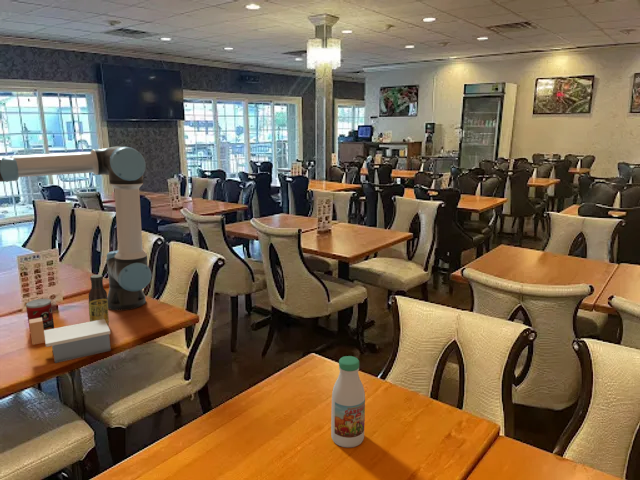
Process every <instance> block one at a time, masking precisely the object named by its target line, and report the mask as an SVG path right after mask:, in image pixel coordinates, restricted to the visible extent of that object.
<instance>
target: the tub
mask: <svg viewBox="0 0 640 480" xmlns="http://www.w3.org/2000/svg"><path fill="white" fill-rule="evenodd" d="M51 349H52V355H53V359H54V363H55V364H56V363H61V362H67V361H70V360H75V359H80V358H85V357H88V356H93V355H97V354H100V353H101V354H102V353H105V352H110V351H112V348H111V340H110V334H107V335H102V336H97V337H92V338H87V339H83V340H78V341H73V342H68V343H63V344H58V345H54V346H51Z"/></svg>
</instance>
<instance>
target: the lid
mask: <svg viewBox="0 0 640 480" xmlns="http://www.w3.org/2000/svg"><path fill="white" fill-rule="evenodd" d="M29 325H30V329H29V332H31V333H30V336H31V344H32V345H38V344H43V343H45V347H46V348H47V347H52V346H54V345H58V344H63V343H68V342H73V341H78V340H83V339H87V338H92V337H97V336H102V335H107V334H109V335H111V329H110V327H109V326H108V325H107V323H106V321H105V319H101V320H96V321H91V322H90V321H87V322H82V323H81V322H80V323H76V324H69V325H65V326H59V327H54V329H49V330H44V328H43V320H42V317H41V318H36V319H30V320H29V323H28V326H29Z"/></svg>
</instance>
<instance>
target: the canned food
mask: <svg viewBox="0 0 640 480" xmlns="http://www.w3.org/2000/svg"><path fill="white" fill-rule="evenodd" d="M52 306H53V305H52V301H51V299H49V298H38V299H37V298H36V299H33V300H29V301H28V302H26V304H25V307H26V316H27V321H28V322H27V323H28V330H30V325H29V320H30V319H36V318H41V317H42V320H43V328H44V330H49V329H54V328H55V323H54V314H53V307H52ZM29 332H30V331H29ZM30 334H31V332H30Z"/></svg>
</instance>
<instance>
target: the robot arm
mask: <svg viewBox="0 0 640 480" xmlns="http://www.w3.org/2000/svg"><path fill="white" fill-rule="evenodd" d="M146 166H147V164H146V161H145V158H144V156H143V154H142V153H141V152H140V151H138V150H137V149H135V148H133V147H130V146H122V145H119V146H118V145H116V146H111V147H105V148H97V149H91V150H90V151H89V152H70V153H69V152H68V153H65V152H63V153H43V154H42V153H41V154H40V153H39V154H23V155H22V154H21V155H19V154H18V155H1V156H0V183H2V182H5V183H8V182H16V181H18V180H19V179H20V178H26V177H39V176H58V175H59V176H60V175H71V174H72V175H74V174H77V175H78V174H90V173H92V174H94V175H95V176H100V175H101V176H102V175H103V176H107V175H108V180H109V181H108V183H109V185H110V186H111V187H112V188H113V189H114V202H115V217H116V218H115V219H116V232H117V233H116V234H117V245H118V246H117V247H118V249H117V250H112V251H109V252H107V254H106V258H105V259H106V260H105V261H106V265H107V274H108V275H107V276H108V284H109V287H108V293H107V300H108V310H111V311H126V310H127V311H128V310H129V311H130V310H132V309H133V310H134V309H136V308H140V307H143V306H144V305H145V304H146V303H147V301H146V299H147V298H146V295H145V293H144V289H145V288H146V287H147V286H148V285H149V284H150V282H151V280H152V271H151V269H150V266H148V265H149V264H148V253H146V251H144V250H143V248H144V247H143V235H142V231H143V230H142V217H141V199H140V197H141V196H140V188H141V187H142V186H143V185H144V173H145V171H146Z"/></svg>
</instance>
